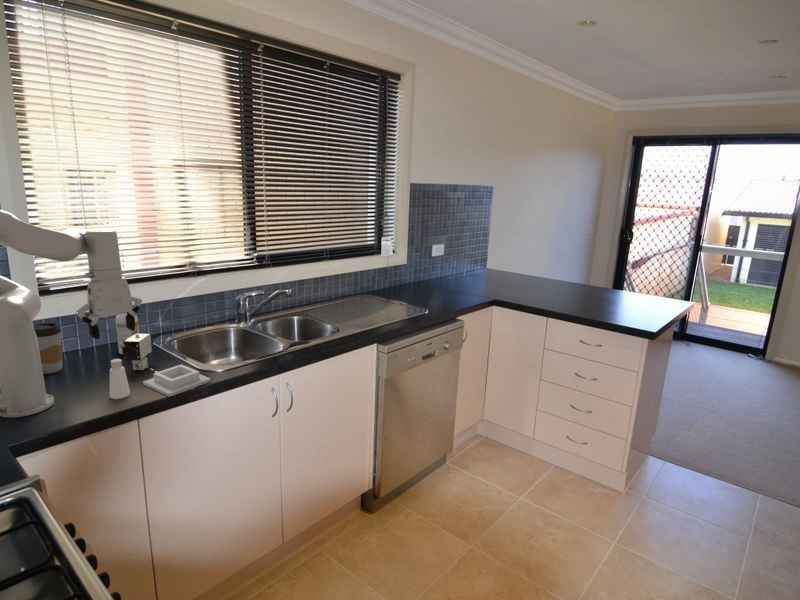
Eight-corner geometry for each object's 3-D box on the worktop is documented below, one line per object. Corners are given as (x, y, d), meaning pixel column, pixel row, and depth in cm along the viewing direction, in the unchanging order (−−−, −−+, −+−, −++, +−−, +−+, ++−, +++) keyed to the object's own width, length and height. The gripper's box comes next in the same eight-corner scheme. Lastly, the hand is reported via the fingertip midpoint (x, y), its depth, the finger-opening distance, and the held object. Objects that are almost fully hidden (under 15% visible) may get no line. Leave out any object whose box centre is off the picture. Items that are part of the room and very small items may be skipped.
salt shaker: (133, 395, 143) (129, 360, 140) (112, 401, 139) (108, 365, 136) (127, 389, 147) (123, 355, 144) (107, 394, 143) (102, 359, 140)
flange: (169, 396, 143) (168, 385, 142) (142, 384, 151) (141, 373, 150) (210, 381, 154) (210, 371, 153) (184, 370, 162) (183, 360, 161)
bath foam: (142, 353, 175) (136, 299, 170) (120, 356, 171) (114, 301, 166) (139, 347, 181) (134, 295, 176) (118, 350, 177) (112, 297, 172)
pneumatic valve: (155, 361, 168) (152, 328, 165) (139, 375, 157) (135, 340, 154) (139, 361, 168) (136, 328, 165) (121, 375, 156) (117, 339, 153)
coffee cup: (58, 363, 164) (51, 320, 160) (71, 368, 160) (65, 325, 156) (30, 371, 157) (22, 326, 153) (43, 377, 153) (36, 331, 149)
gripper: (78, 281, 125) (87, 344, 129) (144, 271, 139) (150, 328, 143) (64, 277, 129) (74, 338, 133) (130, 268, 143) (136, 323, 147)
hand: (113, 333), depth 138 cm, fingers open, 9 cm apart
